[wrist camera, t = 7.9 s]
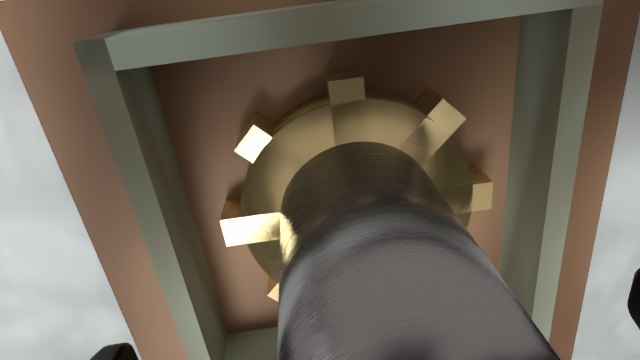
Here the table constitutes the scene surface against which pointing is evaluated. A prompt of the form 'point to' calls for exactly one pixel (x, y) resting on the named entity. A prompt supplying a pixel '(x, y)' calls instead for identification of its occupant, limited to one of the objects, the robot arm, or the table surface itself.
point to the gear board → (285, 92)
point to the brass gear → (374, 231)
